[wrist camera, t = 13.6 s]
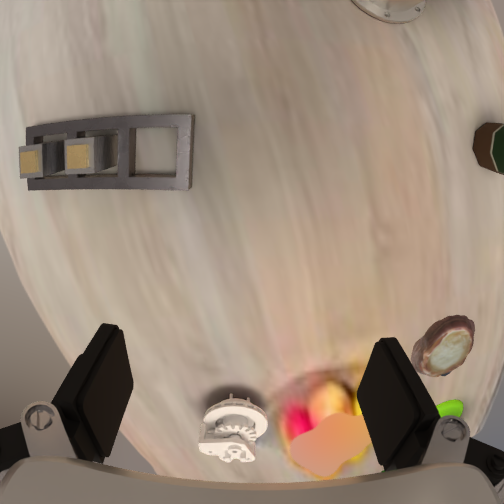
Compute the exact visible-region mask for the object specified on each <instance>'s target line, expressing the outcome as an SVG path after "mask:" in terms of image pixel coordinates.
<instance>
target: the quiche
mask: <svg viewBox="0 0 504 504" xmlns="http://www.w3.org/2000/svg"><path fill="white" fill-rule="evenodd" d="M474 332H475V325H474V322H473V321H472V320H470V319H468V318H467V316H460V315H454V316H448V317H446V318H444V319H442V320H439V321H437V322H435V323H434V324H433V325H432V326H431V327H430V328H429V329H428V330H427V332H426V333H425V335H424V336H423V337H422V338H421V339H419V340H418V341H417V342H416V343H415V345H414V347H413V351H412V356H411V362H412V365H413V367H414V369H415V370H416V372H419V373H420V374H425V375H428V376H431V377H438V376H440V375H441V376H446V375H448V374H449V373H450V372H451V371H452V370H454V369H456V368H457V367H459V366H461V365H462V364H463V363H464V361H465V359H466V357H467V355H468V354H469V353H470V351H471V349H472V346H473V341H474Z"/></svg>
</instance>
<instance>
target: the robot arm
mask: <svg viewBox="0 0 504 504" xmlns="http://www.w3.org/2000/svg"><path fill="white" fill-rule="evenodd" d="M352 1H353V2H354V3H355V4H356V5H357V6H358V7H359V8H360V9H362V10H363V11H364V12H366V13H367V14H369V15H371V16H373V17H375V18H377V19H379V20H382V21H385V22H389V23H400V24H402V23H407V22H410V21H412V20H414V19H416V18H417V17H419V16H420V15H421V14H422V12H423V10H424V8H425V2H426V0H352ZM132 390H133V377H132V373H131V369H130V364H129V359H128V354H127V350H126V344H125V339H124V334H123V331H122V330H121V329H119V327H118V326H117V325H113V324H106V323H103V324H101V326H100V327H99V329H98V330H97V332H96V334H95V335H94V337H93V338H92V340H91V342H90V343H89V345H88V346H87V348H86V350H85V351H84V353H83V354H81V355H79V356H78V358H77V359H76V361H75V363H74V364H73V366H72V368H71V369H70V371H69V373H68V374H67V376H66V378H65V379H64V381H63V383H62V384H61V386H60V388H59V390H58V391H57V393H56V395H55V397H54V398H53V400H52V402H51V403H49V402H45V401H38V402H34V403H32V404H30V405H28V406H27V407H26V408H25V409H24V411H23V412H22V415H21V422H19V423H17V424H14V425H11V426H8V427H5V428H2V429H0V504H504V452H503V451H502V450H499V449H497V448H494V447H492V446H490V445H487V444H485V443H482V442H480V441H478V440H475V439H473V438H471V437H470V429H469V426H468V425H467V423H466V422H465V421H464V420H463V419H461V418H459V417H457V416H453V415H446V416H443V417H441V416H440V414H439V411H438V409H437V407H436V406H435V404H434V402H433V400H432V398H431V397H430V395H429V393H428V391H427V389H426V388H425V386H424V384H423V382H422V381H421V379H420V377H419V375H418V374H417V372H416V370H415V369H414V367H413V365H412V363H411V362H410V360H409V358H408V357H407V355H406V353H405V352H404V350H403V348H402V347H401V345H400V343H399V342H398V340H397V339H396V338H394V337H391V338H381V339H380V340H379V342H376V343H375V345H374V348H373V351H372V353H371V356H370V359H369V362H368V364H367V367H366V370H365V372H364V375H363V378H362V380H361V383H360V385H359V388H358V391H357V400H358V402H359V405H360V408H361V411H362V414H363V416H364V420H365V423H366V426H367V429H368V432H369V435H370V438H371V441H372V444H373V447H374V450H375V453H376V456H377V459H378V462H379V464H380V465H383V467H384V470H385V472H381V473H375V474H369V475H363V476H356V477H349V478H342V479H333V480H323V481H311V482H295V483H229V482H213V481H201V480H191V479H182V478H174V477H167V476H160V475H154V474H148V473H143V472H137V471H132V470H127V469H122V468H117V467H113V466H108V465H104V464H103V462H104V458H105V457H109V456H110V454H111V451H112V447H113V445H114V442H115V438H116V436H117V433H118V430H119V427H120V424H121V421H122V418H123V415H124V412H125V410H126V407H127V404H128V401H129V399H130V396H131V393H132ZM93 461H94V462H98V463H94V462H93ZM100 463H102V464H100ZM396 469H397V470H396Z"/></svg>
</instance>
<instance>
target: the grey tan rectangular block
mask: <svg viewBox="0 0 504 504" xmlns="http://www.w3.org/2000/svg"><path fill="white" fill-rule="evenodd" d="M19 165H20V179H21V178H35V177H45V176H48V175H51V174H54V173H57V172H60V171H63V170H65V140H61V141H51V142H44V143H38V144H32V145H27V146H21V147H19Z"/></svg>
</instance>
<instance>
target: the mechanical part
mask: <svg viewBox="0 0 504 504" xmlns="http://www.w3.org/2000/svg"><path fill="white" fill-rule="evenodd" d="M203 423H204V424H203ZM203 423H201V427H200V435H199V443H198V444H199V448H200V451H201V452H203V453H205V454H208V455H218V457H219V459H221V460H223V461H226V462H231V460H233V459H240V460H241V462H251V461H254V460H255V458H256V454H255V442H254V441H255V440H256V438H257V437H259V436H261V435H262V434H263V433H264V432H265V431H266V429H267V425H268V423H267V416H266V414H265V412H264V411H263V410H262V409H261V408H259V407H258V406H256V405H253V404H252V403H251V402H250V398H249V397H248V398H247V400H244V399H238V398H233V394H232V393H230V399H226V400H223V401H221V402H220V403H218V404H215V405H213V406H211V407H210V408H209V409H208V410H207V411H206V413H205V415H204V422H203Z"/></svg>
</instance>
